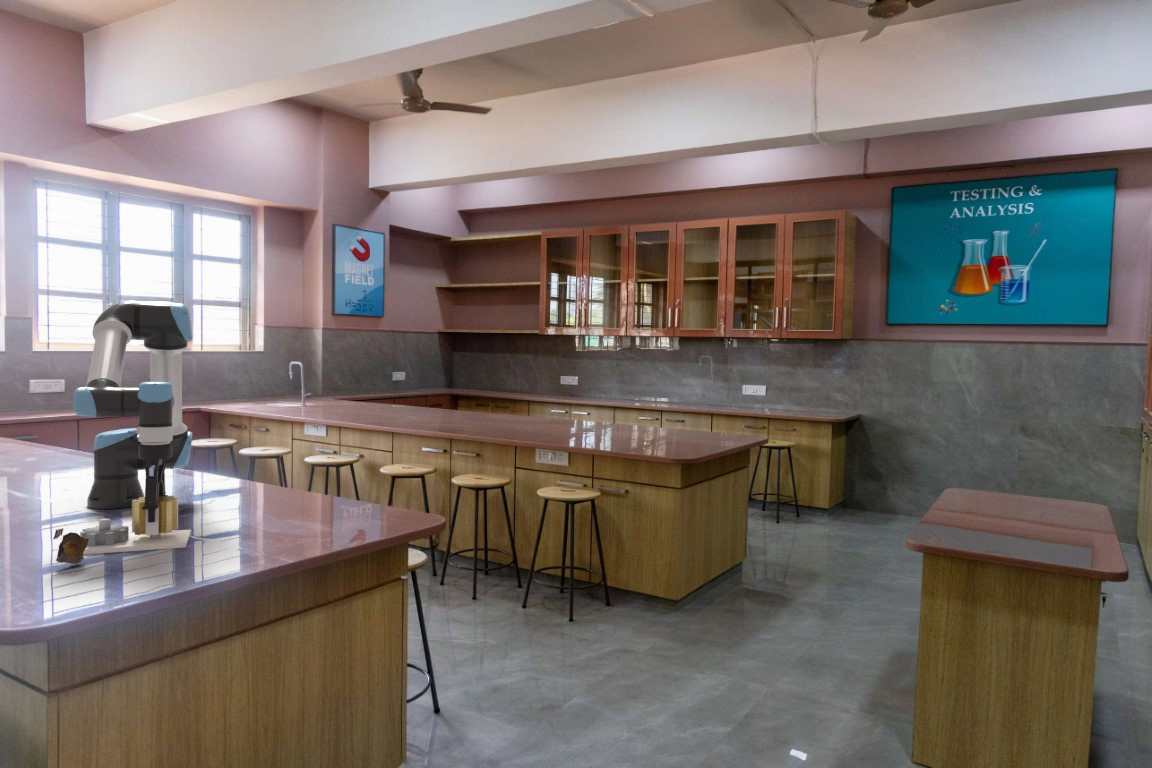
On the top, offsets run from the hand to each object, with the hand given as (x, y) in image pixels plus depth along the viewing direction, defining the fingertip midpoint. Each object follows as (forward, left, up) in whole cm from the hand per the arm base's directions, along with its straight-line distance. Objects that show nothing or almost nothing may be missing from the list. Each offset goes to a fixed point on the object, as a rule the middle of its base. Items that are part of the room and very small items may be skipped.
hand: (155, 529), depth 186 cm
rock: (+18, -15, -4) cm, 24 cm away
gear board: (0, -5, -3) cm, 6 cm away
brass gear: (0, 0, 0) cm, 0 cm away
